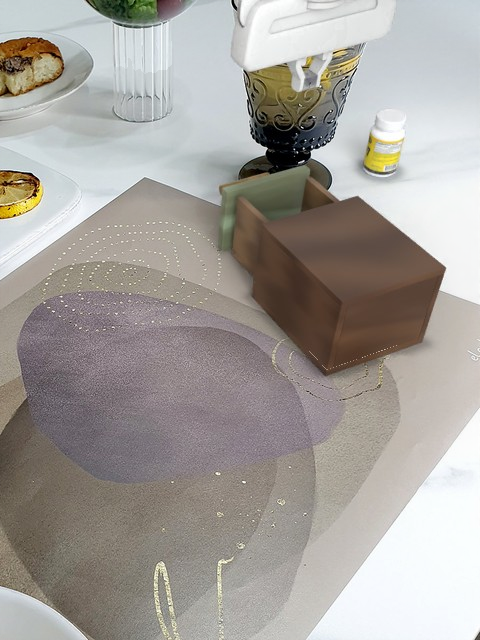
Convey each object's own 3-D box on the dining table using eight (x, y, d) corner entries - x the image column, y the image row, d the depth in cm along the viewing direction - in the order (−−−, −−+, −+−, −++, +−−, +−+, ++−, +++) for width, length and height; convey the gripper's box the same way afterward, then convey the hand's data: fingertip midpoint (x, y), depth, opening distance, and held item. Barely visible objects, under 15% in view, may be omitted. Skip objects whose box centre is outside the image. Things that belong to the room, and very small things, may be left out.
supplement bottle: (366, 158, 126) (378, 104, 120) (399, 164, 125) (412, 110, 119) (358, 174, 123) (370, 120, 117) (392, 181, 122) (405, 126, 116)
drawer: (199, 228, 114) (203, 169, 108) (276, 206, 117) (284, 147, 111) (277, 311, 101) (287, 250, 95) (361, 284, 104) (376, 223, 98)
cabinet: (251, 296, 105) (261, 223, 97) (341, 268, 108) (357, 195, 101) (325, 376, 95) (342, 301, 87) (422, 342, 98) (446, 267, 90)
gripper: (255, -5, 90) (244, 119, 99) (415, -42, 95) (389, 79, 105) (225, -24, 94) (217, 97, 104) (379, -58, 99) (358, 60, 109)
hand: (304, 88), depth 104 cm, fingers closed
